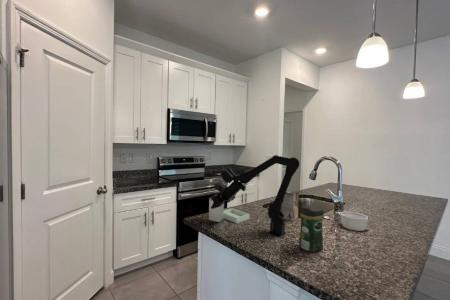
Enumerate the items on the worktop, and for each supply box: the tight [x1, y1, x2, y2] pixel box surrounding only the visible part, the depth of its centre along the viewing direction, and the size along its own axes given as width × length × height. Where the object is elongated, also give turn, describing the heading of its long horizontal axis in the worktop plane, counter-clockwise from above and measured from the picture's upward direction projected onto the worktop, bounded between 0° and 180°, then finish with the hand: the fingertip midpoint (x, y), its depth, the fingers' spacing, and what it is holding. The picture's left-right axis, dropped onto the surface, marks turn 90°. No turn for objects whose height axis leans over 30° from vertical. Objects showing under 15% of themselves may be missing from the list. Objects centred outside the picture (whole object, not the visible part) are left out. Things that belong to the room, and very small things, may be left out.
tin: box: [208, 197, 225, 223], centre depth 119 cm, size 6×6×12 cm
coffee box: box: [282, 190, 300, 222], centre depth 130 cm, size 9×6×16 cm
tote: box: [224, 207, 250, 224], centre depth 128 cm, size 15×11×3 cm
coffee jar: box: [298, 204, 325, 253], centre depth 92 cm, size 10×8×19 cm
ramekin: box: [340, 211, 369, 232], centre depth 118 cm, size 13×13×7 cm
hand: (214, 206), depth 119 cm, fingers closed on tin, 6 cm apart
